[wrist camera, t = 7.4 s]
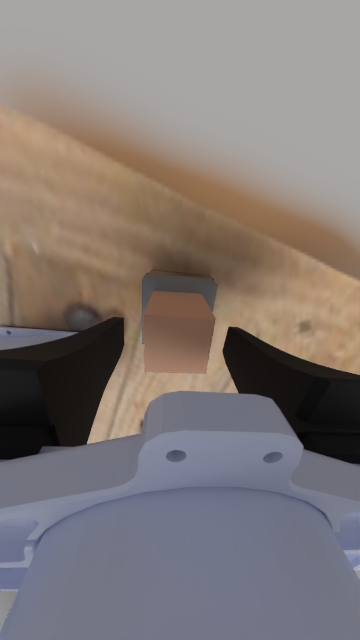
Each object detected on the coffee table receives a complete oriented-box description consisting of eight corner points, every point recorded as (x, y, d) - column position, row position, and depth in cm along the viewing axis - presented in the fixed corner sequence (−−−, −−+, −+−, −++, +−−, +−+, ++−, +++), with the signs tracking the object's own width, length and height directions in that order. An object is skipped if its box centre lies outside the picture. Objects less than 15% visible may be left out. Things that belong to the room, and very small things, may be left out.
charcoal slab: (145, 330, 18) (142, 343, 16) (146, 273, 16) (142, 278, 14) (201, 334, 19) (206, 347, 17) (210, 278, 16) (217, 284, 14)
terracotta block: (152, 333, 16) (144, 371, 11) (152, 290, 14) (143, 314, 10) (196, 335, 16) (205, 373, 11) (201, 293, 14) (215, 318, 10)
